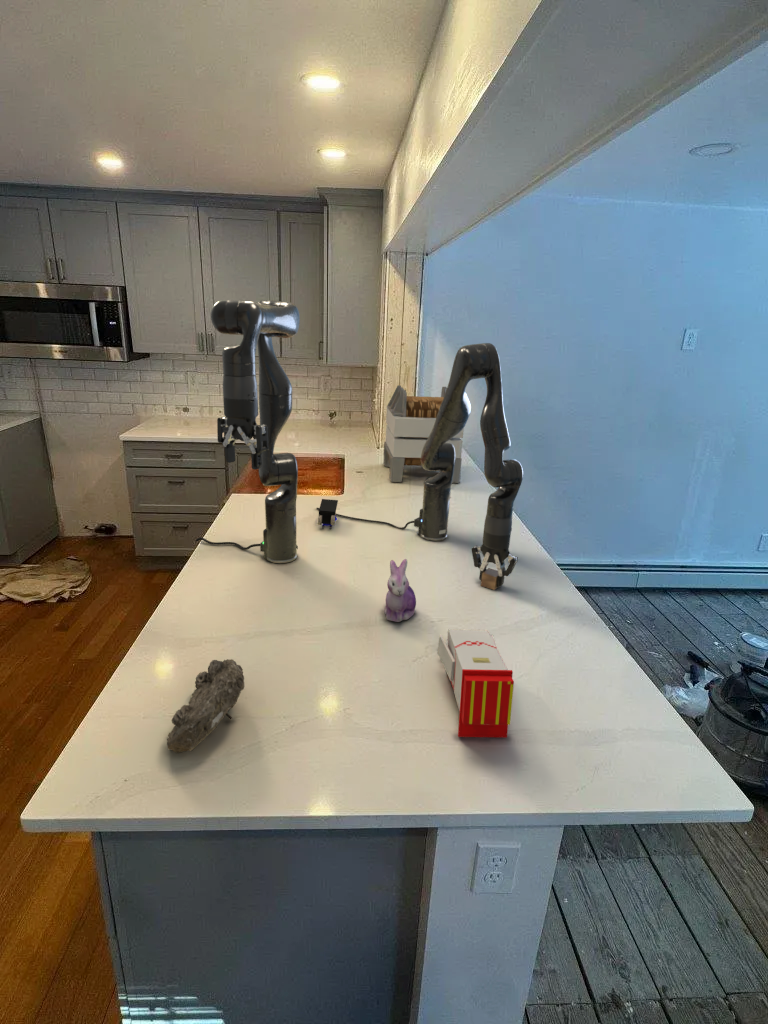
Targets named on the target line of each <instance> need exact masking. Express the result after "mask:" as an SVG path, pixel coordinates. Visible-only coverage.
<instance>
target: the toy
mask: <svg viewBox="0 0 768 1024" xmlns="http://www.w3.org/2000/svg"><path fill="white" fill-rule="evenodd" d="M446 640H447V643H446V641H445V639H444V636H443V635H442V634H439V637H438V646H437V656H438V657H439V659H440V661H441V663H442V666H443V668H444V670H445V672H446V674H447V677H448V679H449V681H450V684H451V687H452V690H453V693H454V697H455V701H456V705H457V708H458V711H459V714H458V715H459V716H458V730H457V731H458V732H457V737H458V738H508V731H509V726H510V725H511V717H512V707H513V697H514V696H513V695H514V684H515V680H514V679H513V673H514V671H513V670H512V669H508V667H507V665H506V662H505V661H504V659H503V658H502V655H501V653H500V651H499V649H498V647H497V643H496V639H495V637H494V635H493V634H491V632H490V631H489V629H467V628H466V629H465V628H463V629H461V628H460V629H459V628H448V630H447V639H446Z"/></svg>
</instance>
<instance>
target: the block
mask: <svg viewBox="0 0 768 1024" xmlns="http://www.w3.org/2000/svg"><path fill="white" fill-rule="evenodd" d="M486 569H487V570H486V571H484V572H483V573H482V580H480V587H483V588H486V589H489V590H492V591H496V590H497V588H498V587H496V586H497V577H498V569H494V568H490V567H487V568H486Z"/></svg>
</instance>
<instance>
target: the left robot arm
mask: <svg viewBox="0 0 768 1024" xmlns="http://www.w3.org/2000/svg"><path fill="white" fill-rule="evenodd" d="M210 320H211V324H212V326H213V328H214V329H215V330H216V331H217V332H219V333H220V334H222V335H228V336H229V335H231V336H232V335H233V336H242V340H241V342H240V343H239V344H236V345H230V346H226V347H224V348H223V349H222V354H221V357H222V359H221V360H222V397H223V398H222V399H223V400H222V401H223V415H224V416H223V417H217V419H216V424H217V425H216V426H217V429H216V430H217V442H218V443H219V444H222V446H223V447H224V458H225V461H226V463H229V464H231V463H234V462H236V447H235V444H236V442H237V441H238V440H239V441H241V442H244V443H245V445H246V446H247V447H248V448H249V450H250V452H251V454H250V457H251V469H252V470H258V477H259V481H260V482H261V484H262V485H263V486H265V487H271V486H272V487H274V486H279V487H278V488H277V489H276V490H273V491H272V492H270V493H268V494H267V495H266V496H265V499H264V511H265V513H264V514H265V515H264V516H265V528H264V529H263V531H262V536H263V537H262V539H263V540H262V541H261V542H260V543H254V544H250V545H247V546H243V545H241V544H239V543H237V542H234V541H220V542H217V541H216V542H214V541H210V540H208V539H206V538H204V537H201V536H200V537H198V538H196V539H195V542H199V541H203V542H204V543H207V544H209V545H212V546H221V545H222V546H223V545H232V546H236V547H238V548H239V549H240V550H242V551H243V550H244V551H248V550H249V549H251V548H254V547H260V552H263V559H264V560H267V561H268V562H271V563H273V564H287V563H291V562H294V561H295V560H297V558H298V549H299V547H298V544H297V498H298V481H299V480H298V478H299V476H298V475H299V468H298V467H299V466H298V461H297V457H296V456H295V454H293V453H292V452H281V453H275V445H276V441H277V439H278V437H279V435H280V433H281V432H282V430H283V428H284V426H285V425H286V424H287V421H288V420H289V418H290V416H291V414H292V411H293V386H292V383H291V380H290V379H289V377H288V375H287V373H286V372H285V370H284V368H283V367H282V365H281V364H280V362H279V360H278V358H277V355H276V352H275V350H274V345H273V339H272V338H280V339H281V338H282V339H290V338H291V339H292V338H293V337H295V336H296V335H297V334H298V332H299V330H300V323H301V315H300V311H299V308H298V306H297V305H295V304H294V303H293V302H290V301H286V300H285V301H284V300H283V301H282V300H281V301H280V300H271V299H261V300H259V301H258V302H255V301H252V300H239V299H238V300H237V299H220V300H218V301H217V302H215V303H214V305H213V306H212V308H211V311H210ZM257 353H258V355H257V356H258V382H257V371H256V368H257V367H256V354H257ZM258 416H259V424H257V420H256V419H257V417H258Z"/></svg>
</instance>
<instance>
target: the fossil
mask: <svg viewBox="0 0 768 1024" xmlns="http://www.w3.org/2000/svg"><path fill="white" fill-rule="evenodd" d="M243 670H244V669H243V667H242V665H240V664H237V662H236V661H235V660H234V659H232V658H231V659H227V658H226V659H224V660H223V661H222V660H217V659H212V660H211V661H210V663H209V665H208V666H207V671H201V672H199V673H198V674H197V675H196V676H195V680H194V684H195V685H194V687H195V689H194V690H193V693H192V694H191V697H190V698H189V700H188V704H184V705H182V706H181V707H180V709H177V710H176V711H175V713H174V715H173V716H172V718H171V723H172V724H173V727H172V730H171V731H170V732H168V734H167V738H166V741H167V742H166V745H167V749H168V750H169V751H173V752H174V753H176V754H178V753H182V752H188V751H189V752H192V751H193V750H195V748H196V747H197V746H199V744H200V743H201V742H203V741H204V740H205V739H206V738H207V737H208V736H209V735H210V734H211V733H212V732H214V730H215V729H217V727H218V726H219V724H220V722H221V721H222V720H223V719H224V718H225V716H226V717H227V719H229V720H233V717H232V715H230V714H229V710H230V709H231V708H234V706H235V704H236V703H237V702H238V699H239V697H240V695H241V693H242V691H243V690H245V689H244V688H245V675H244V671H243Z"/></svg>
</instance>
